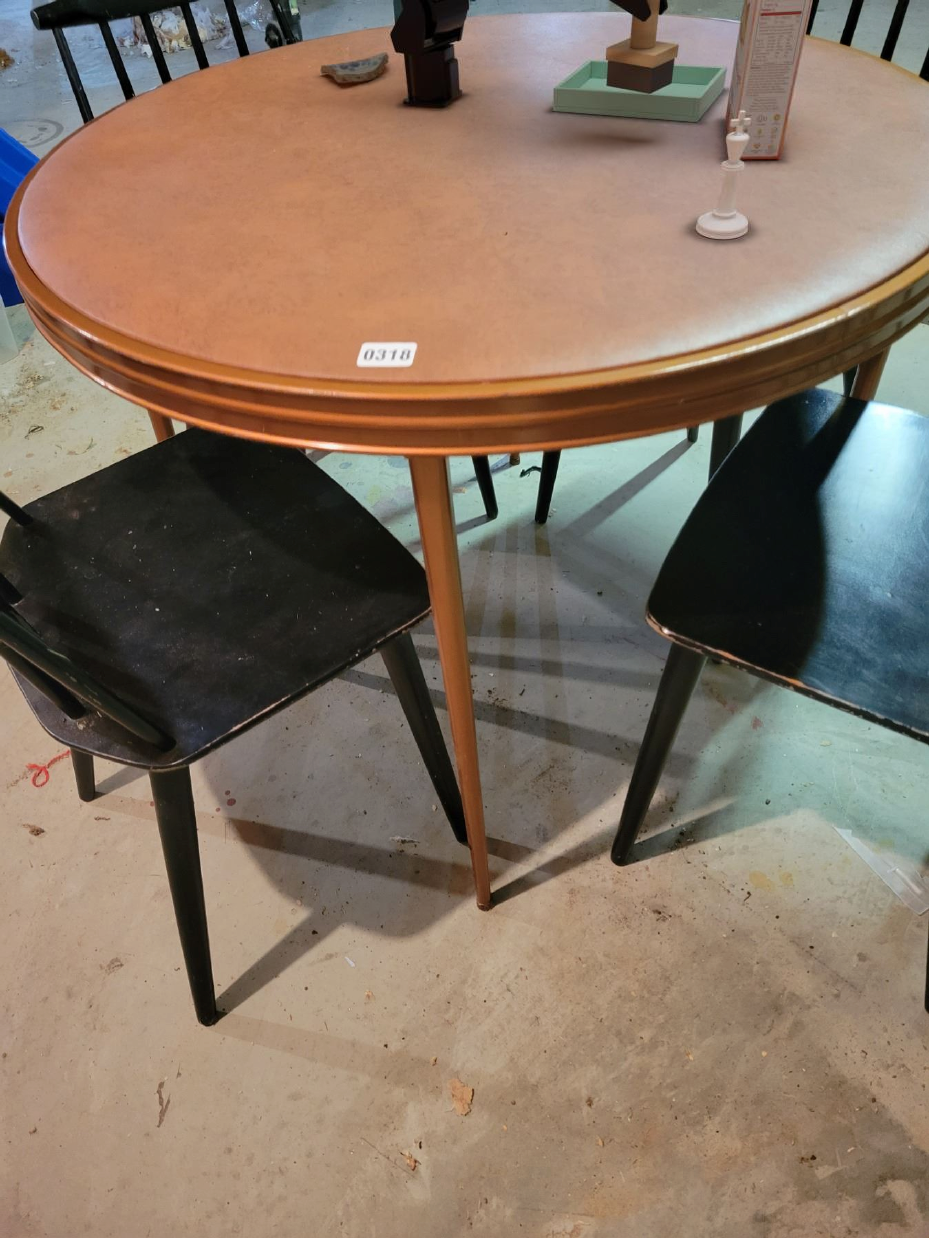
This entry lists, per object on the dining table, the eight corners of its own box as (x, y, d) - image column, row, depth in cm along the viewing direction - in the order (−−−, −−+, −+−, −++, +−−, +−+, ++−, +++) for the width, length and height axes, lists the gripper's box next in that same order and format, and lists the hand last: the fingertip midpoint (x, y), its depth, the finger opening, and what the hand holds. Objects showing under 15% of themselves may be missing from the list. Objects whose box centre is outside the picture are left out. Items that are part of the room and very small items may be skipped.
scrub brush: (603, 86, 89) (610, -26, 81) (627, 75, 91) (636, -35, 84) (650, 95, 86) (662, -21, 78) (674, 83, 88) (688, -30, 81)
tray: (552, 111, 102) (553, 88, 100) (587, 81, 110) (588, 59, 108) (696, 122, 96) (700, 98, 94) (723, 90, 103) (727, 67, 101)
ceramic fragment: (330, 77, 113) (316, 50, 119) (334, 101, 116) (319, 73, 121) (400, 65, 115) (383, 39, 120) (402, 88, 118) (385, 62, 123)
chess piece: (689, 221, 77) (706, 105, 70) (738, 216, 77) (760, 100, 70) (703, 242, 74) (723, 123, 66) (754, 236, 74) (780, 117, 66)
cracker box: (721, 120, 96) (758, -110, 80) (772, 119, 95) (820, -114, 79) (724, 161, 87) (766, -89, 71) (780, 161, 86) (835, -93, 70)
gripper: (570, -201, 69) (659, -31, 72) (684, -220, 77) (760, -68, 80) (505, -87, 78) (586, 59, 82) (612, -115, 87) (682, 18, 90)
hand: (656, 15), depth 83 cm, fingers closed on scrub brush, 3 cm apart
